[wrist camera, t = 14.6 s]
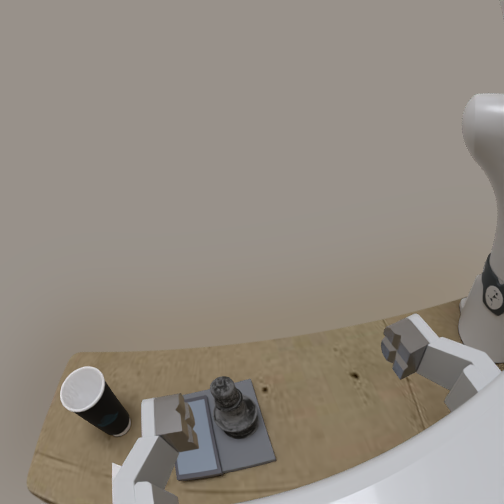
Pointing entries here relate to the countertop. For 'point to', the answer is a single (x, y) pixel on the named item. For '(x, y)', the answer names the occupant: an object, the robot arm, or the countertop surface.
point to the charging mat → (240, 450)
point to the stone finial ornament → (233, 409)
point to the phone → (200, 446)
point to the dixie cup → (94, 401)
